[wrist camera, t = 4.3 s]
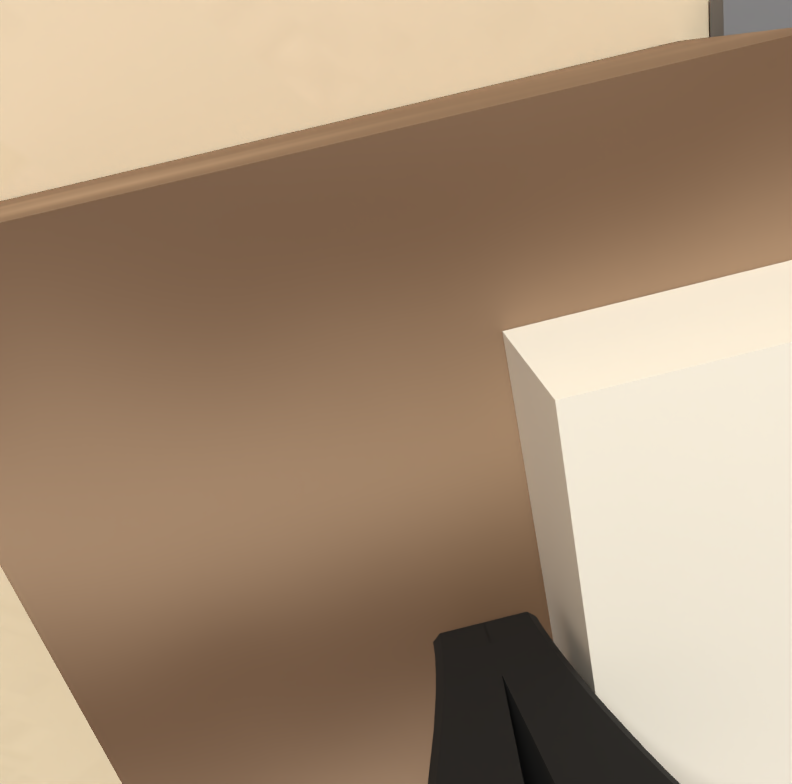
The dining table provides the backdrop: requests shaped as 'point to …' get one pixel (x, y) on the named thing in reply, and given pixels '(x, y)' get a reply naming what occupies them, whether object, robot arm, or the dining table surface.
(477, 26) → the dining table surface
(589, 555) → the block
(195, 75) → the dining table surface
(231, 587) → the brown wooden block
